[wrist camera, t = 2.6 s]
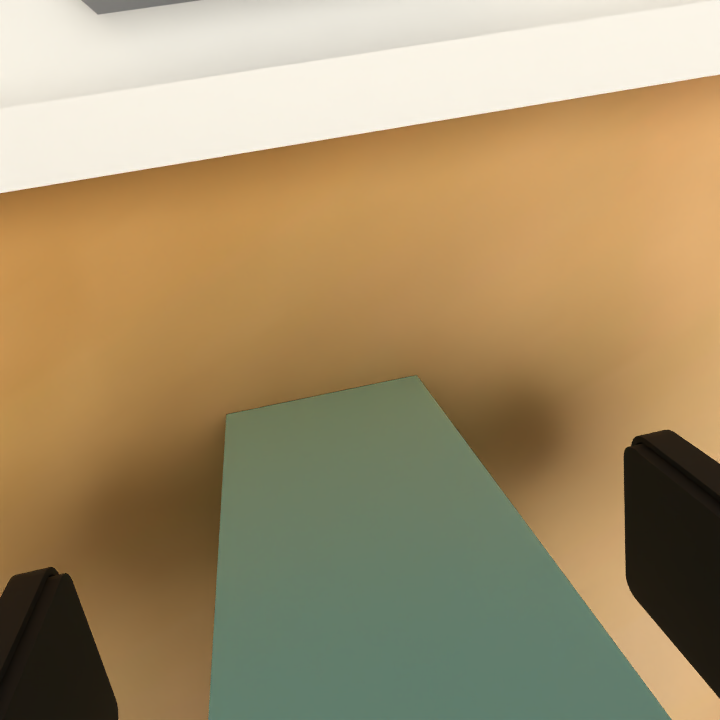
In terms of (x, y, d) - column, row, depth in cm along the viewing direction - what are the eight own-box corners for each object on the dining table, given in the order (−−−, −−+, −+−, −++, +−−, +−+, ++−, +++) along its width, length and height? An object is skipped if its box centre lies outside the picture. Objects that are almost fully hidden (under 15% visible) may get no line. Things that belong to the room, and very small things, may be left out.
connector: (438, 536, 15) (749, 1165, 6) (265, 575, 15) (305, 1325, 5) (416, 375, 14) (774, 859, 5) (226, 414, 13) (190, 1037, 4)
